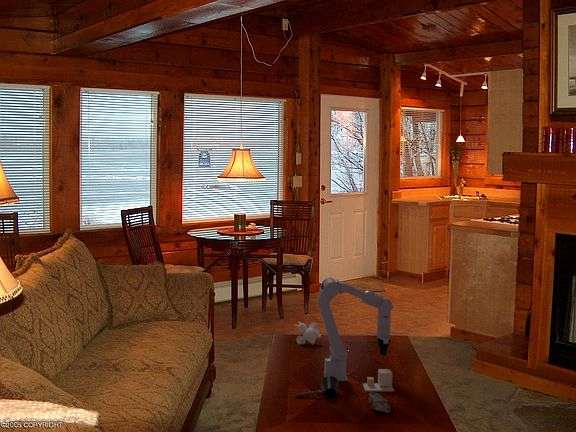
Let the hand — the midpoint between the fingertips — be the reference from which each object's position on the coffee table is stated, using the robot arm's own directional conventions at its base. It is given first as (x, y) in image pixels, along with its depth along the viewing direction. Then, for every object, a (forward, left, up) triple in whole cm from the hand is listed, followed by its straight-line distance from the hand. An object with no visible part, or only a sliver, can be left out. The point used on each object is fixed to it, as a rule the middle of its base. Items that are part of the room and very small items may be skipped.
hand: (382, 355), depth 319 cm
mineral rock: (-7, -36, -10) cm, 38 cm away
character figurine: (-30, +51, -10) cm, 60 cm away
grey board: (-4, -14, -10) cm, 18 cm away
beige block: (-1, -12, -9) cm, 15 cm away
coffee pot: (-30, -22, -10) cm, 39 cm away
